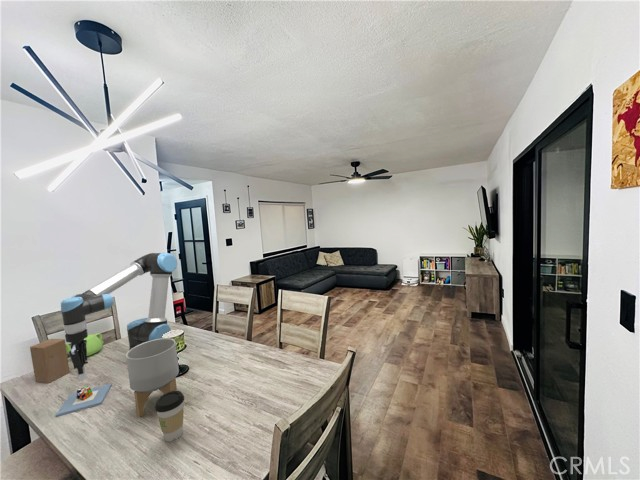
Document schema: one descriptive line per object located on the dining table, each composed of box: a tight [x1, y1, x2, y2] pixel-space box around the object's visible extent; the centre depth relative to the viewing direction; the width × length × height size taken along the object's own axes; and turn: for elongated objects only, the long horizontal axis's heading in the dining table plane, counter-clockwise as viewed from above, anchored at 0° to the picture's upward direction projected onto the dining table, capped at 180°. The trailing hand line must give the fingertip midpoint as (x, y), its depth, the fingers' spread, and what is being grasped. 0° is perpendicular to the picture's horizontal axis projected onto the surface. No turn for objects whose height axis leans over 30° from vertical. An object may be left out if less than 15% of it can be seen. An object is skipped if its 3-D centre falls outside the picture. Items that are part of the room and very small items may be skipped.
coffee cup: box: [154, 390, 185, 442], centre depth 100 cm, size 10×10×15 cm
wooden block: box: [29, 338, 71, 384], centre depth 145 cm, size 10×10×20 cm
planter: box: [125, 337, 180, 418], centre depth 119 cm, size 19×19×26 cm
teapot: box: [65, 332, 104, 357], centre depth 169 cm, size 22×15×13 cm
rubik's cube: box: [76, 386, 93, 401], centre depth 124 cm, size 4×5×5 cm
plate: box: [54, 382, 113, 418], centre depth 125 cm, size 16×16×1 cm
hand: (83, 379), depth 124 cm, fingers closed
